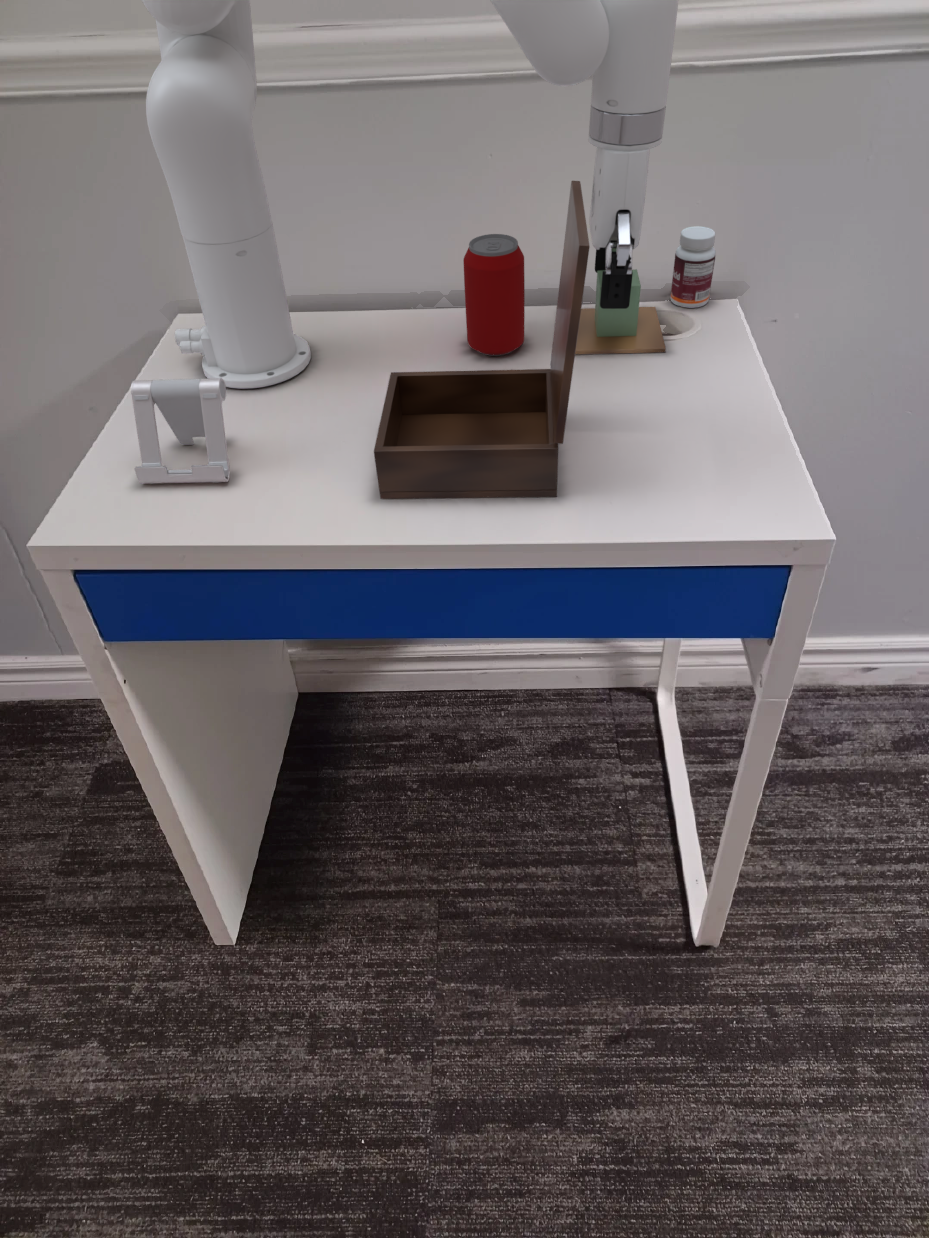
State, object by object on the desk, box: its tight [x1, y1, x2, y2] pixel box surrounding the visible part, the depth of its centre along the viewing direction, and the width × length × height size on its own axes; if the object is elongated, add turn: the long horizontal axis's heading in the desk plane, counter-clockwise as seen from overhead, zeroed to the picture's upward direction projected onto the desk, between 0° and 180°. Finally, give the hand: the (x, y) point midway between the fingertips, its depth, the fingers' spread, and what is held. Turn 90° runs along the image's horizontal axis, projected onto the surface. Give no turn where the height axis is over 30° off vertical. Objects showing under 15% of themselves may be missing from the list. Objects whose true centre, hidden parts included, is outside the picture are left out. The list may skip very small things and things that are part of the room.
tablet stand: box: [130, 377, 231, 485], centre depth 87 cm, size 9×8×8 cm
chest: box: [373, 368, 559, 500], centre depth 87 cm, size 17×15×5 cm
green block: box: [594, 268, 642, 337], centre depth 104 cm, size 5×5×6 cm
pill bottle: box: [670, 225, 717, 309], centre depth 108 cm, size 5×5×8 cm
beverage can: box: [463, 233, 526, 357], centre depth 101 cm, size 7×7×12 cm
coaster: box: [575, 306, 667, 355], centre depth 106 cm, size 11×11×1 cm
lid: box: [549, 180, 591, 445], centre depth 78 cm, size 17×15×1 cm
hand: (610, 289), depth 102 cm, fingers open, 9 cm apart
